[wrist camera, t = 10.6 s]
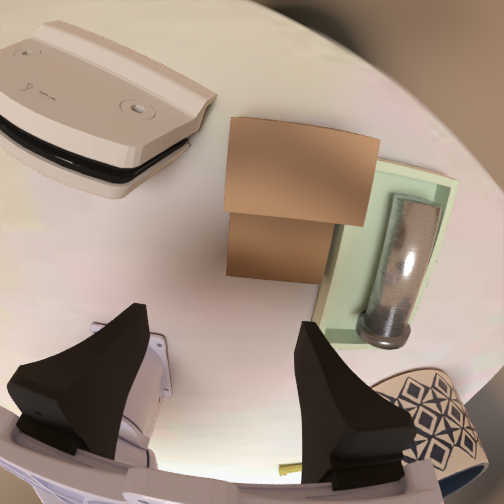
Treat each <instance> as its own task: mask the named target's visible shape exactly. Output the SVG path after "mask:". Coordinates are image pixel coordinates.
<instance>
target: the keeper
mask: <svg viewBox="0 0 504 504" xmlns="http://www.w3.org/2000/svg"><path fill="white" fill-rule="evenodd" d="M379 145H380V139H376V138H372V137H368V136H364V135H360V134H356V133H351V132H347V131H342V130H337V129H332V128H326V127H320V126H314V125H307V124H300V123H293V122H285V121H277V120H268V119H259V118H248V117H231V121H230V133H229V145H228V157H227V169H226V183H225V197H224V211H223V212H231V213H230V227H229V241H228V256H227V271H226V276H233V277H243V278H254V279H264V280H275V281H287V282H298V283H310V284H322V280H323V276H324V272H325V268H326V263H327V259H328V254H329V250H330V245H331V241H332V236H333V231H334V226H335V224H343V225H351V226H359V227H363V226H364V222H365V217H366V213H367V208H368V204H369V199H370V194H371V189H372V184H373V179H374V174H375V168H376V163H377V157H378V151H379Z"/></svg>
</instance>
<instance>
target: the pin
mask: <svg viewBox="0 0 504 504" xmlns="http://www.w3.org/2000/svg"><path fill="white" fill-rule="evenodd" d="M441 211H442V206H441V205H439V204H437V203H435V202H433V201H430V200H427V199H424V198H420V197H417V196H413V195H408V194H400V193H396V194H394V197H393V203H392V208H391V213H390V219H389V223H388V228H387V233H386V237H385V242H384V246H383V251H382V255H381V259H380V263H379V267H378V271H377V275H376V279H375V282H374V286H373V290H372V293H371V297H370V300H369V304H368V307H367V309H366V310H364V311H362V312H361V313H360V314H359V316H358V319H357V323H356V332H357V334H358V335H359V337H360V338H361V339H362V340H364V341H365V342H366V343H368V344H370V345H372V346H374V347H377V348H380V349H387V350H392V349H398V348H400V347H402V346H404V345H405V343H406V342H407V340H408V337H409V335H410V332H411V329H410V325H409V324H408V321H409V319H410V316H411V313H412V311H413V308H414V305H415V302H416V299H417V297H418V294H419V291H420V288H421V285H422V282H423V279H424V275H425V272H426V269H427V265H428V262H429V259H430V255H431V252H432V248H433V244H434V240H435V236H436V232H437V228H438V224H439V220H440V216H441Z"/></svg>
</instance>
